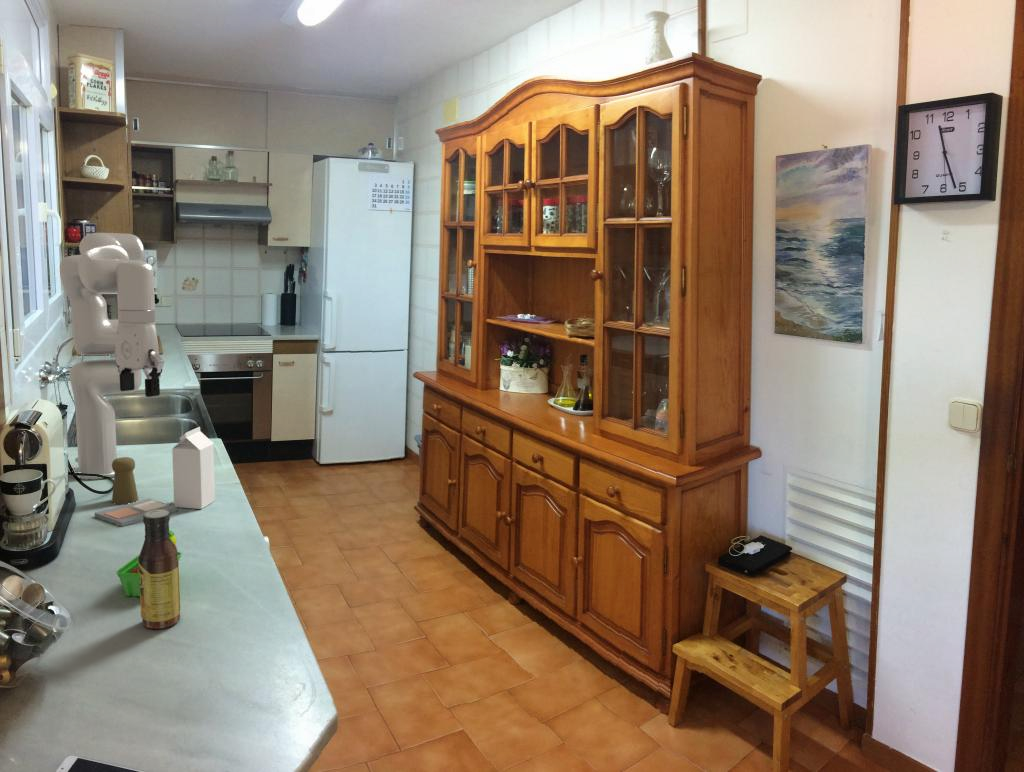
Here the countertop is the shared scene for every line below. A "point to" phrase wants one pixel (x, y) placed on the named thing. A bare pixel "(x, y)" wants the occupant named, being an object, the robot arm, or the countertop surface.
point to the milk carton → (193, 471)
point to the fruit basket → (136, 573)
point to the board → (132, 511)
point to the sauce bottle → (159, 573)
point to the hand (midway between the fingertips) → (139, 393)
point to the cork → (124, 481)
